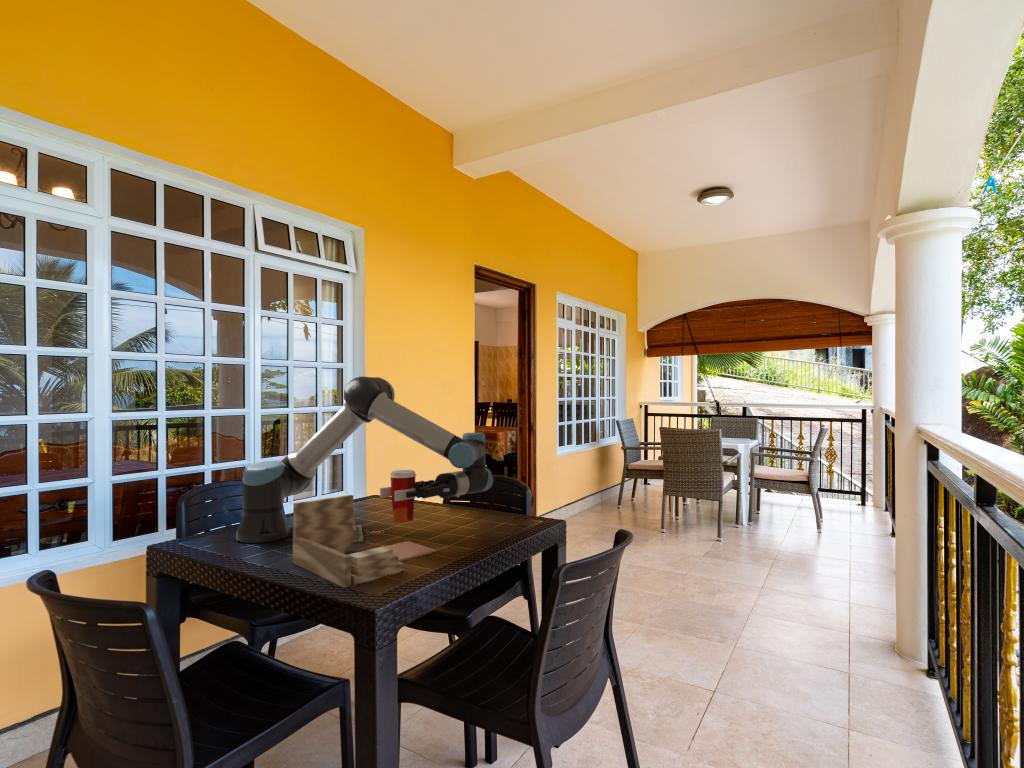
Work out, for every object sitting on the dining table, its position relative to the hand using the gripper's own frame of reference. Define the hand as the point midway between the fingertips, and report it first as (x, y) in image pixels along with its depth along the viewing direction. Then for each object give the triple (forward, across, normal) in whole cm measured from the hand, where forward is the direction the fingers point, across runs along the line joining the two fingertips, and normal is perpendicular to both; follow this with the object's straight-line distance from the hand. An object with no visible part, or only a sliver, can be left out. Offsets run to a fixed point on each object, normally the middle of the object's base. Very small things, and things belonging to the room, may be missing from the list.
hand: (388, 494), depth 152 cm
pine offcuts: (+12, -12, -17) cm, 24 cm away
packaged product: (-3, +29, -18) cm, 34 cm away
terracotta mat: (-5, 0, -17) cm, 18 cm away
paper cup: (-5, 0, -8) cm, 10 cm away
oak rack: (+13, 0, -17) cm, 21 cm away
